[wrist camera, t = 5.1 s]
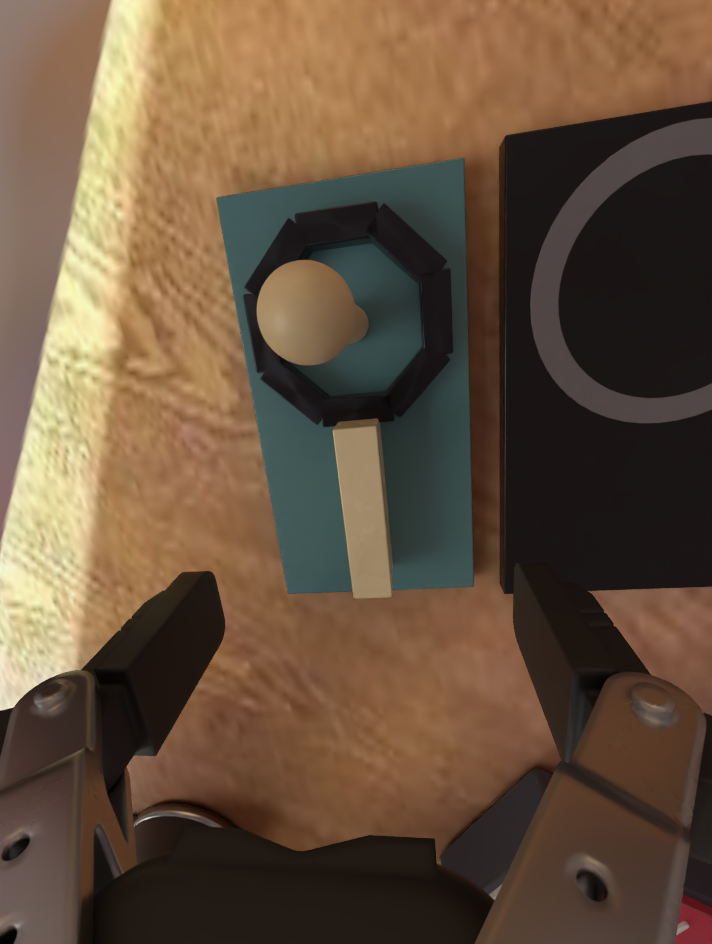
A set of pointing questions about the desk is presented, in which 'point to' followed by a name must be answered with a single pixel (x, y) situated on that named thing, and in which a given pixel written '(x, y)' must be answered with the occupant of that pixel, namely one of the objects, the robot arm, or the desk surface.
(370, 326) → the peg stand
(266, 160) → the desk surface
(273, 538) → the desk surface
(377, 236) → the hoop
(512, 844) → the calculator
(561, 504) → the hob plate
